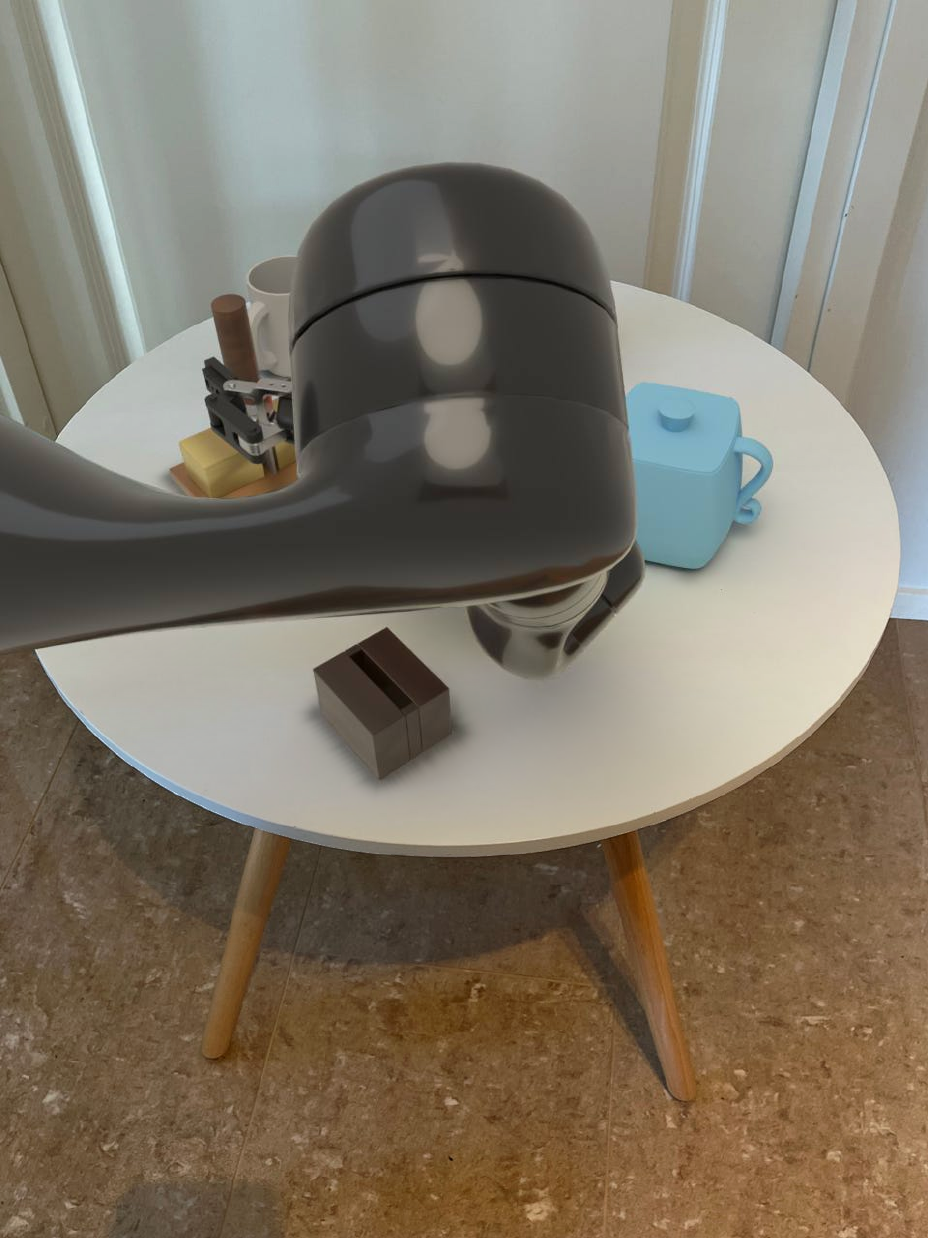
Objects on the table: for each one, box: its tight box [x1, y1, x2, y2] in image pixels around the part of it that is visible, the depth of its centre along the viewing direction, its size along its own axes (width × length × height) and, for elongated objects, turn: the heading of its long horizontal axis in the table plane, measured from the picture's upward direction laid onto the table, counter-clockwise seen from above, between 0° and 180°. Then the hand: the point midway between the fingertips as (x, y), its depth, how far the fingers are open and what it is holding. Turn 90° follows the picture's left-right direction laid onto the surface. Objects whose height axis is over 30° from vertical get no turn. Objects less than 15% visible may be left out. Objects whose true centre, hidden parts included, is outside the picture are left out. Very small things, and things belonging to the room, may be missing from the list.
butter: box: [169, 397, 297, 498], centre depth 90 cm, size 13×8×5 cm, turn 128°
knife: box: [210, 293, 277, 475], centre depth 85 cm, size 3×5×15 cm, turn 38°
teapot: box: [625, 381, 774, 570], centre depth 82 cm, size 12×18×12 cm
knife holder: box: [312, 626, 452, 781], centre depth 70 cm, size 6×7×5 cm
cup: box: [245, 254, 297, 379], centre depth 99 cm, size 7×10×9 cm
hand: (261, 348), depth 78 cm, fingers open, 8 cm apart
